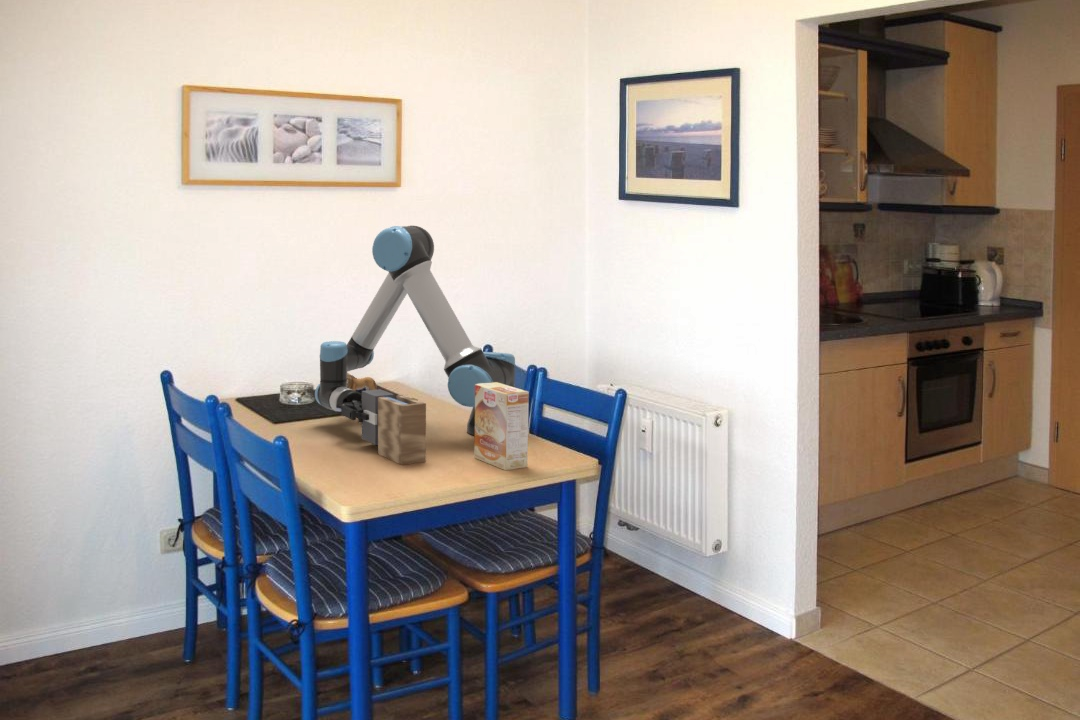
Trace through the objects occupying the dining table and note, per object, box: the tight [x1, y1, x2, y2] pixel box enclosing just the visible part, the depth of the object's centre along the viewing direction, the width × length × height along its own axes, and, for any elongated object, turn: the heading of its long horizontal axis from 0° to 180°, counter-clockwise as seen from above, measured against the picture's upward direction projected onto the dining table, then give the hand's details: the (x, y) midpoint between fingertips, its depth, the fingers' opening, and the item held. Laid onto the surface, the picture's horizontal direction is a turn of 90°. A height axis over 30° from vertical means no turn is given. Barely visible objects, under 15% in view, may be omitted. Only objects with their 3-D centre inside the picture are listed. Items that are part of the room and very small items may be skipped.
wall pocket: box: [377, 394, 427, 466], centre depth 277 cm, size 13×7×15 cm, turn 36°
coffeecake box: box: [473, 382, 530, 471], centre depth 274 cm, size 15×7×20 cm, turn 35°
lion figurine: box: [347, 372, 378, 391], centre depth 354 cm, size 15×5×9 cm, turn 129°
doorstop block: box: [361, 388, 395, 446], centre depth 288 cm, size 8×6×13 cm
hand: (386, 418), depth 283 cm, fingers closed on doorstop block, 5 cm apart
